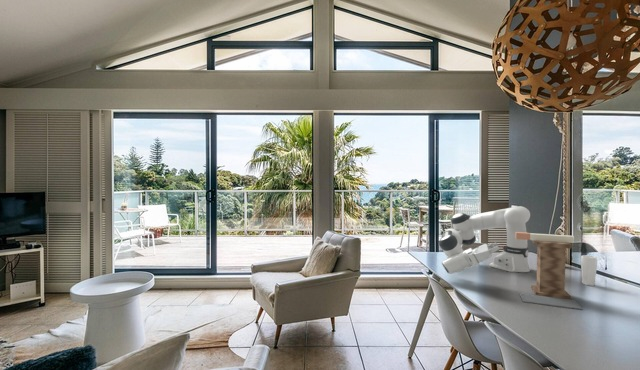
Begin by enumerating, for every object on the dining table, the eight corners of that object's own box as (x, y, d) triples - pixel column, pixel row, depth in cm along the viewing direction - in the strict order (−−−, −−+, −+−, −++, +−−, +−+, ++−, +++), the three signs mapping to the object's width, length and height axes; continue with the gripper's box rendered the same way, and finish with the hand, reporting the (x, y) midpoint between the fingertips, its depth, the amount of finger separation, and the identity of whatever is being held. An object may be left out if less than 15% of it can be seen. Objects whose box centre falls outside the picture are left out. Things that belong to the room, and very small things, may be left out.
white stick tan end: (516, 239, 168) (516, 232, 168) (515, 238, 171) (515, 231, 171) (574, 243, 158) (574, 236, 158) (572, 241, 161) (572, 235, 161)
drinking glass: (599, 287, 174) (600, 258, 174) (584, 286, 175) (585, 257, 175) (591, 282, 181) (592, 255, 180) (577, 282, 182) (578, 254, 182)
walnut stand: (535, 295, 161) (536, 241, 161) (531, 287, 172) (532, 237, 172) (570, 299, 156) (572, 244, 155) (563, 291, 167) (564, 240, 166)
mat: (523, 302, 152) (523, 300, 152) (519, 294, 163) (519, 293, 163) (582, 309, 144) (582, 308, 144) (574, 301, 154) (574, 300, 154)
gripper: (475, 257, 186) (499, 247, 181) (476, 266, 168) (503, 255, 163) (469, 247, 188) (493, 236, 183) (469, 255, 169) (496, 243, 164)
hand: (497, 245), depth 172 cm, fingers open, 8 cm apart
